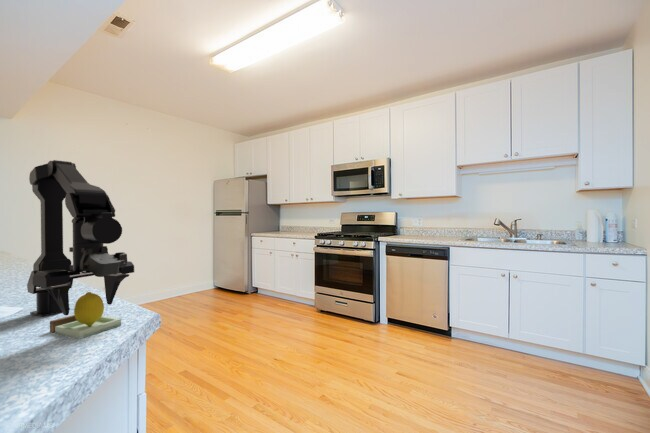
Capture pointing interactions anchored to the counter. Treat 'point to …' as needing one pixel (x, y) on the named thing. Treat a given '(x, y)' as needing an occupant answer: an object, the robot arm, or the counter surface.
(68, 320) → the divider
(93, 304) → the lemon
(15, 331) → the counter surface
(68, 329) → the dish
